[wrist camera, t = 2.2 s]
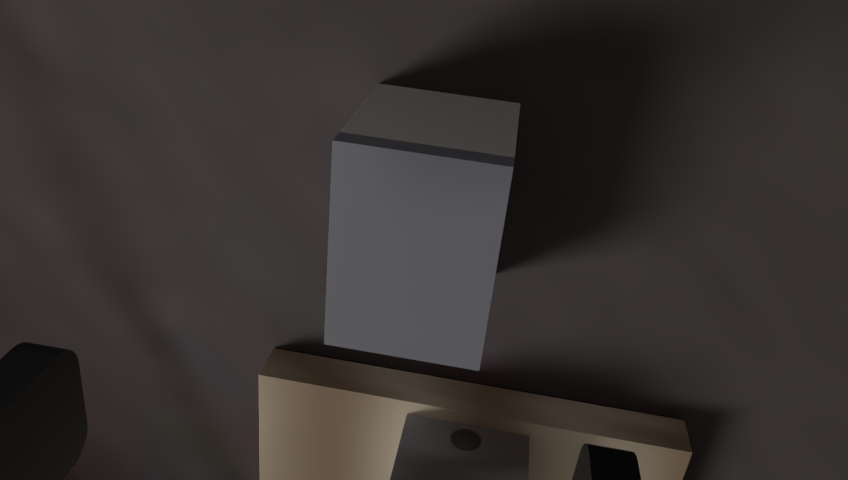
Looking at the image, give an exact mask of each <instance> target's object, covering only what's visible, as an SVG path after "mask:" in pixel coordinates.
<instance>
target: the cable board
mask: <svg viewBox="0 0 848 480" xmlns="http://www.w3.org/2000/svg"><path fill="white" fill-rule="evenodd" d="M585 443H587V444H592V445H598V446H604V447H609V448H615V449H620V450H626V451H632V452H634V453H635V454H636V456H637V460H638V465H639V470H640V476H641V480H683V477H684V475H685V472H686V469H687V466H688V464H689V461H690V458H691V455H692V453H693V452H692V449H691V445H690V441H689V437H688V433H687V429H686V425H685V421H684V420H680V419H674V418H668V417H663V416H657V415H651V414H645V413H640V412H634V411H628V410H623V409H617V408H611V407H606V406H600V405H594V404H589V403H583V402H577V401H571V400H566V399H560V398H554V397H549V396H543V395H537V394H532V393H526V392H520V391H514V390H509V389H503V388H497V387H492V386H486V385H480V384H475V383H469V382H463V381H457V380H452V379H446V378H440V377H435V376H429V375H423V374H418V373H412V372H406V371H400V370H395V369H389V368H383V367H378V366H372V365H366V364H361V363H355V362H349V361H343V360H338V359H332V358H326V357H321V356H315V355H309V354H304V353H298V352H292V351H287V350H281V349H275V348H274V349H273V351H272V352H271V354H270V356H269V358H268V359H267V361H266V363H265V365H264V366H263V368H262V370H261V372H260V373H259V463H260V480H572V478H573V475H574V471H575V468H576V464H577V461H578V457H579V454H580V450H581V448H582V446H583V444H585Z"/></svg>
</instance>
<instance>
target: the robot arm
mask: <svg viewBox="0 0 848 480" xmlns="http://www.w3.org/2000/svg"><path fill="white" fill-rule="evenodd" d="M86 435H87V418H86V411H85V404H84V397H83V389H82V382H81V375H80V368H79V361H78V358H77V355H76V354H75V353H74V352H73V351H71V350H67V349H61V348H56V347H50V346H44V345H39V344H33V343H28V342H23V343H20V344H18V345H16V346H15V347H14V348H12V349H11V350H10V351H9V352H8V353H7V354H6V355H5V356H4V357H2V358H1V359H0V480H63V478H64V477H65V476H66V475H67V473H68V472H69V471H70V469H71V468H72V467H73V466H74V464H75V463H76V461H77V459H78V458H79V456H80V454H81V452H82V449H83V446H84V443H85V439H86ZM572 480H641V476H640V470H639V465H638V460H637V456H636V454H635V453H634V452H632V451H626V450H620V449H615V448H609V447H604V446H598V445H592V444H587V443H585V444H583V446H582V448H581V450H580V454H579V457H578V461H577V464H576V468H575V471H574V475H573V478H572Z"/></svg>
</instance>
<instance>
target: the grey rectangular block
mask: <svg viewBox="0 0 848 480" xmlns="http://www.w3.org/2000/svg"><path fill="white" fill-rule="evenodd" d="M519 113H520V103H515V102H507V101H500V100H493V99H486V98H479V97H472V96H465V95H457V94H450V93H443V92H436V91H429V90H422V89H415V88H408V87H400V86H393V85H386V84H379V83H378V85H377V86H376V87H375V88H374V90H373V91H372V92H371V93H370V95H369V96H368V97H367V98H366V99H365V101H364V102H363V103H362V104H361V106H360V107H359V108H358V109H357V111H356V112H355V113H354V114H353V116H352V117H351V118H350V119H349V121H348V122H347V123H346V124H345V126H344V127H343V128H342V129H341V131H340V132H339V133H338V134H337V135H336V137H335V138H334V139H333V141H332V165H331V189H330V212H329V236H328V260H327V284H326V308H325V331H324V344H326V345H332V346H337V347H343V348H349V349H355V350H360V351H366V352H372V353H378V354H384V355H389V356H395V357H401V358H407V359H412V360H418V361H424V362H430V363H435V364H441V365H447V366H453V367H458V368H464V369H470V370H476V371H479V370H480V364H481V358H482V352H483V346H484V340H485V334H486V328H487V322H488V316H489V311H490V305H491V299H492V293H493V287H494V281H495V275H496V269H497V263H498V257H499V251H500V245H501V240H502V234H503V228H504V222H505V216H506V210H507V204H508V198H509V192H510V186H511V180H512V175H513V169H514V160H515V151H516V141H517V132H518V122H519Z"/></svg>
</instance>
